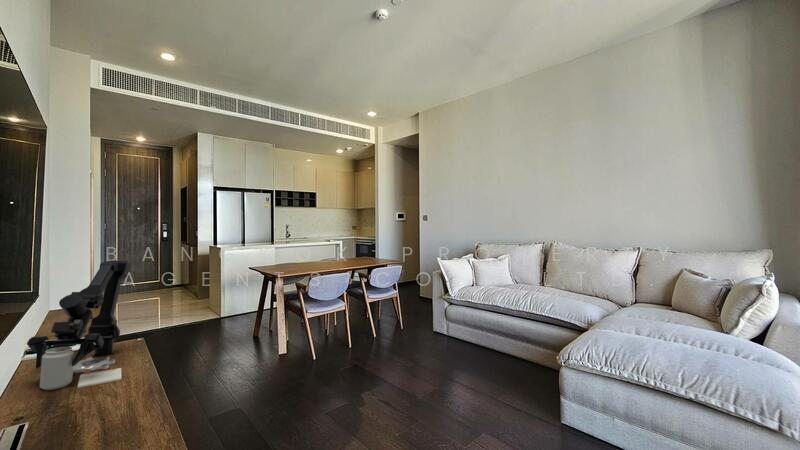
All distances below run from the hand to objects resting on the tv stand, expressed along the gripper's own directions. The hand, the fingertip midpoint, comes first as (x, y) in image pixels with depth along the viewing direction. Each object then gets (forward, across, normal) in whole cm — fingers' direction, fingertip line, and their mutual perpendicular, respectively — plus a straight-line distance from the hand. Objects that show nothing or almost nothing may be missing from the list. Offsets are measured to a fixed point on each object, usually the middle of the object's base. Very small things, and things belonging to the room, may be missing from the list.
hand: (55, 366), depth 110 cm
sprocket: (-8, +2, +17) cm, 19 cm away
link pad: (+1, +10, +8) cm, 13 cm away
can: (+4, 0, +6) cm, 7 cm away
